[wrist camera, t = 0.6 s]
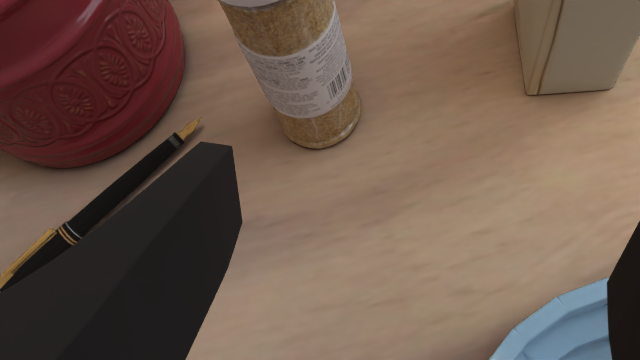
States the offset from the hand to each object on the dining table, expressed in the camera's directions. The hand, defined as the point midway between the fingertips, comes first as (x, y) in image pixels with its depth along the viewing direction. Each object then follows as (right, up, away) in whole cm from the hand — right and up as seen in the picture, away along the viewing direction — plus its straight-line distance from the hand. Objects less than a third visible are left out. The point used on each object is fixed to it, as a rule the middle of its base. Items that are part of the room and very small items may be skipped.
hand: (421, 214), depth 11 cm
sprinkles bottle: (-2, +4, +22) cm, 22 cm away
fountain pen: (-13, -1, +22) cm, 25 cm away
